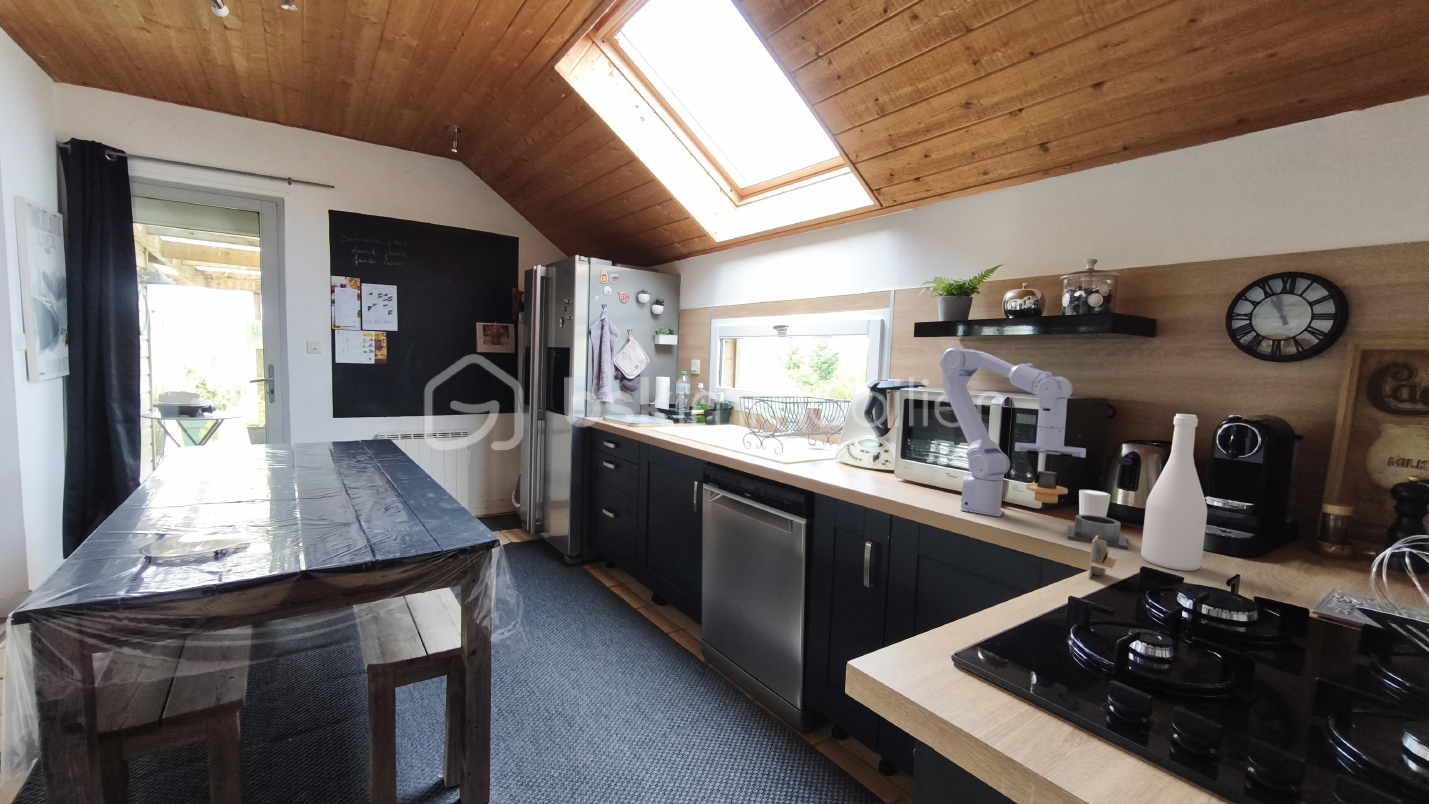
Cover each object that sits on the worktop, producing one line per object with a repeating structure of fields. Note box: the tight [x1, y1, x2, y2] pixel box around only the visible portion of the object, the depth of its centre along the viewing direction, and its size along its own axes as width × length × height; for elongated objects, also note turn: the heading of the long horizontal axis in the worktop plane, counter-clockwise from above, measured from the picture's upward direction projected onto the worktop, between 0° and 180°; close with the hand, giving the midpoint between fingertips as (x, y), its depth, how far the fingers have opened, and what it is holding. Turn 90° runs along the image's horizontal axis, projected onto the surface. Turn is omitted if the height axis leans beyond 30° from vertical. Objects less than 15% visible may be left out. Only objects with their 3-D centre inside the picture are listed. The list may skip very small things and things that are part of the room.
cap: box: [1025, 470, 1069, 504], centre depth 139 cm, size 9×9×7 cm
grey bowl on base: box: [1067, 514, 1129, 551], centre depth 132 cm, size 11×11×4 cm
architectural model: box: [1087, 535, 1118, 580], centre depth 106 cm, size 3×7×7 cm, turn 139°
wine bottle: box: [1140, 413, 1208, 572], centre depth 116 cm, size 10×10×30 cm
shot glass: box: [1078, 489, 1111, 518], centre depth 150 cm, size 7×7×7 cm
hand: (1046, 484), depth 139 cm, fingers closed on cap, 4 cm apart
